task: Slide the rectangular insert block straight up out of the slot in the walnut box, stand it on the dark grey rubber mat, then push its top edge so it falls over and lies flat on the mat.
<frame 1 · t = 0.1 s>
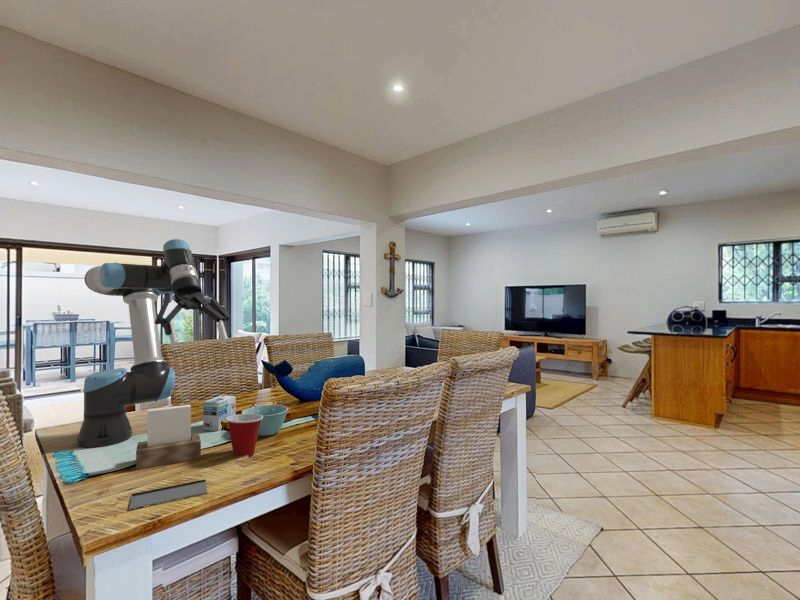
hand: (201, 342, 113), 36 cm above the table, tool tilted 35°, fingers open, 13 cm apart
light bulb box: (219, 427, 150), on the table
plastic cup: (244, 455, 123), on the table
slot box: (169, 462, 117), on the table
bowl: (265, 433, 144), on the table
rectangular insert block: (169, 458, 117), point 1 cm above the table, touching slot box
rubber mat: (169, 484, 103), on the table
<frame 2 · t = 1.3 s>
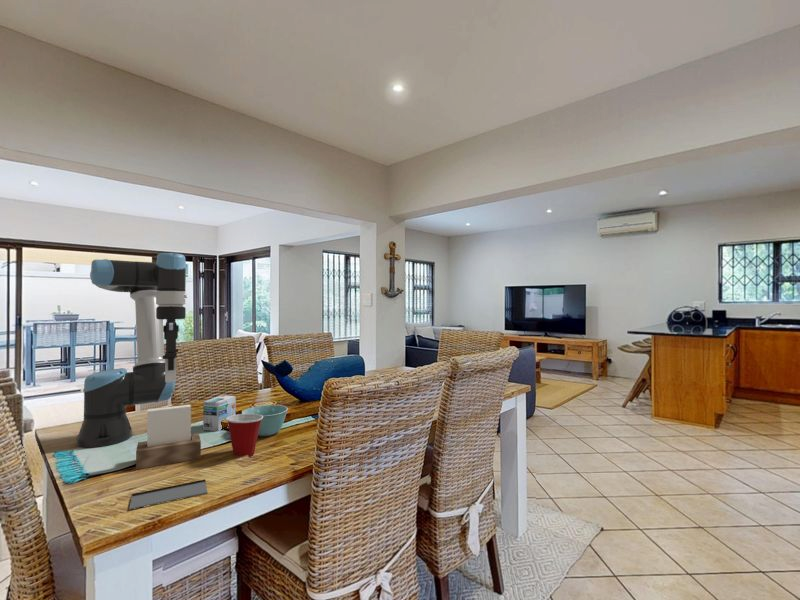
hand: (170, 377, 117), 25 cm above the table, tool pointing down, fingers open, 13 cm apart
nothing on the table moved.
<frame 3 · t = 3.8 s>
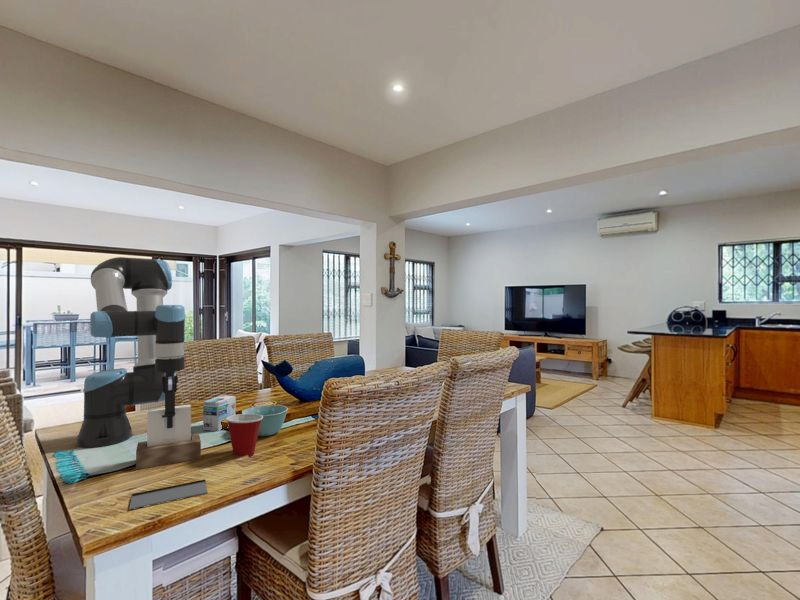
hand: (169, 436, 117), 8 cm above the table, tool pointing down, fingers closed on rectangular insert block, 2 cm apart
rectangular insert block: (169, 458, 117), point 1 cm above the table, touching gripper, slot box
everything else where it was.
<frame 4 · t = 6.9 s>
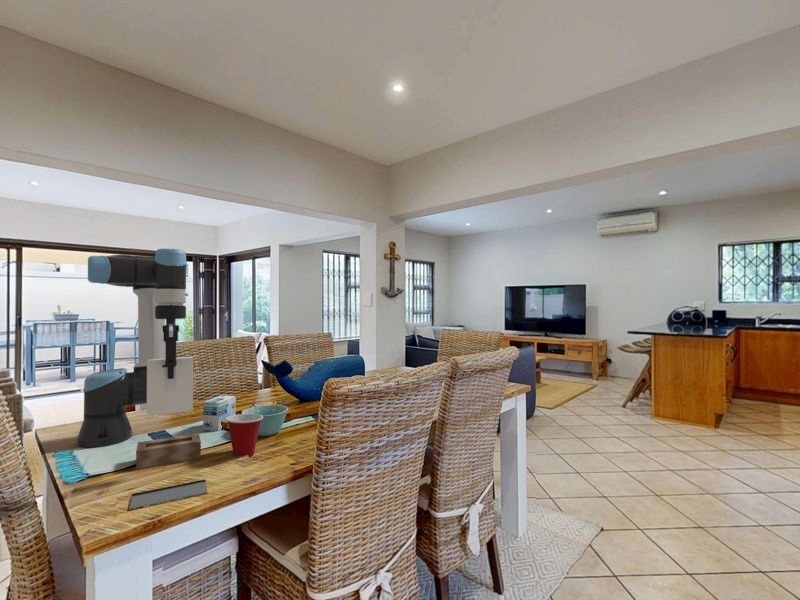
hand: (170, 389, 111), 23 cm above the table, tool pointing down, fingers closed on rectangular insert block, 2 cm apart
rectangular insert block: (170, 412, 110), point 17 cm above the table, touching gripper
everything else where it was.
when the fingers open (8 cm above the table, at t = 9.9 s): rectangular insert block stays where it is, resting on rubber mat.
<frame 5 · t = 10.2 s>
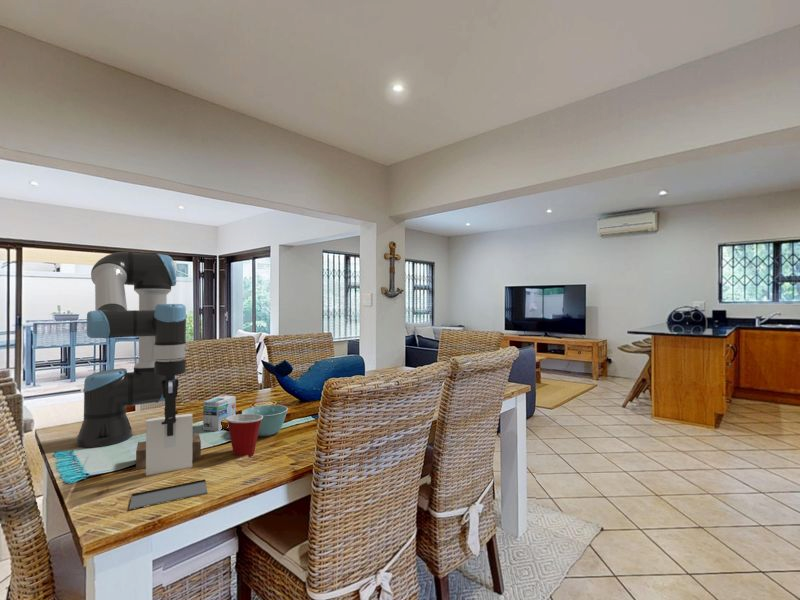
hand: (169, 442, 110), 8 cm above the table, tool pointing down, fingers open, 7 cm apart
rectangular insert block: (169, 471, 110), resting on rubber mat
everything else where it was.
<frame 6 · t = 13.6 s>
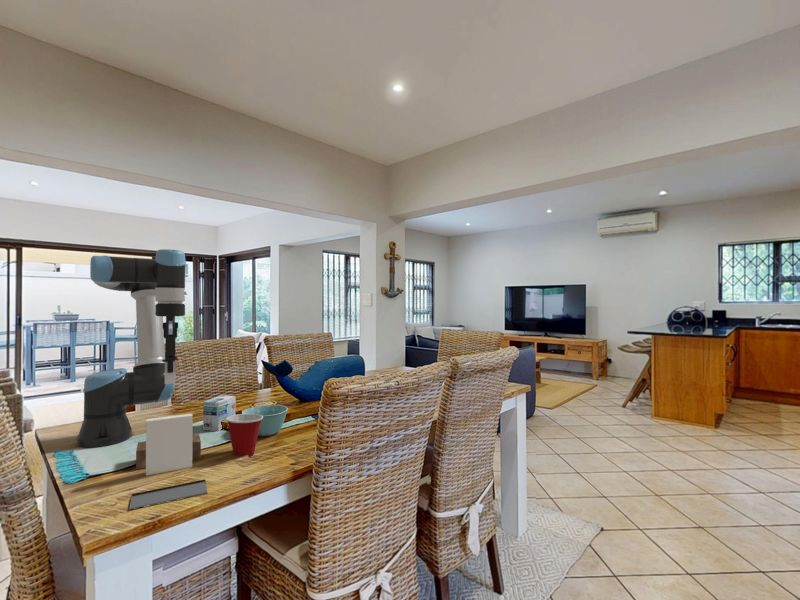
hand: (170, 383, 116), 23 cm above the table, tool pointing down, fingers closed
nothing on the table moved.
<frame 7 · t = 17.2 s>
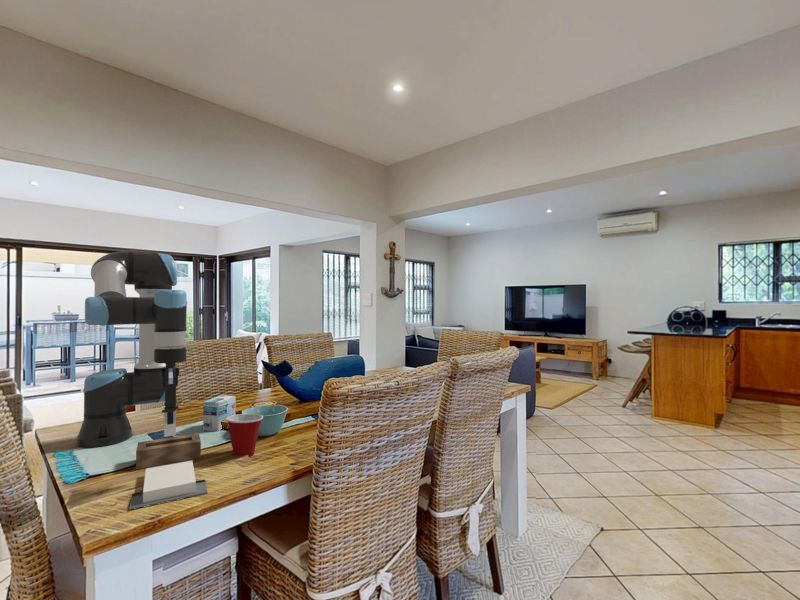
hand: (170, 435, 107), 12 cm above the table, tool pointing down, fingers closed
rectangular insert block: (169, 469, 109), point 2 cm above the table, tilted 90°, touching rubber mat
everything else where it was.
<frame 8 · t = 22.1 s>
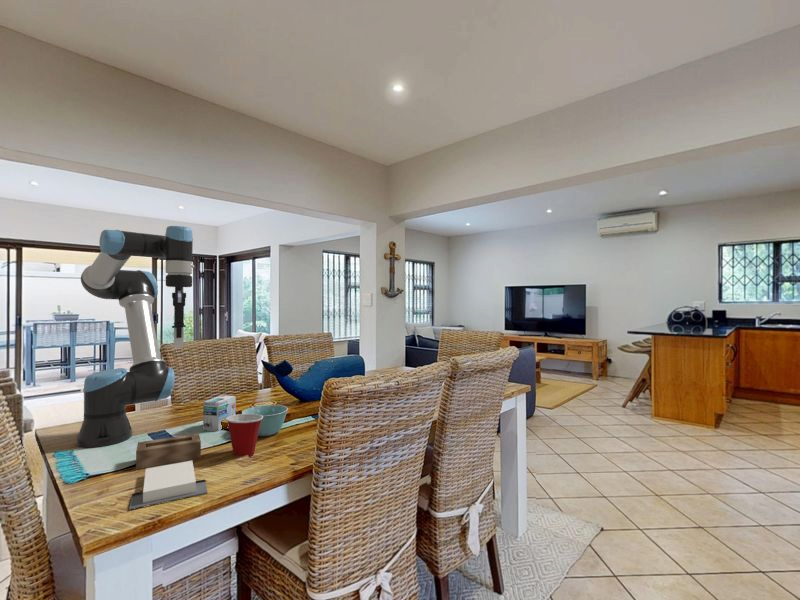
hand: (178, 347, 128), 32 cm above the table, tool pointing down, fingers closed
nothing on the table moved.
at the end: rectangular insert block tilted 90°; rectangular insert block touching rubber mat; rectangular insert block 6.5 cm from the rubber mat (horizontally) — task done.
